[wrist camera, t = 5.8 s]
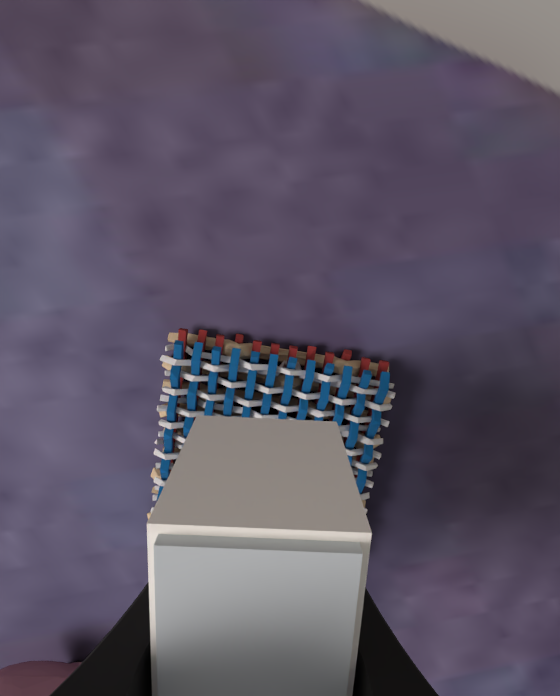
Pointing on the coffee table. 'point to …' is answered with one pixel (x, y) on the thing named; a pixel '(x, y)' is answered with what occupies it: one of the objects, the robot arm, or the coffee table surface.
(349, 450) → the woven mat
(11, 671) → the pink curved figurine
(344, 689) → the painted block
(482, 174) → the coffee table surface
